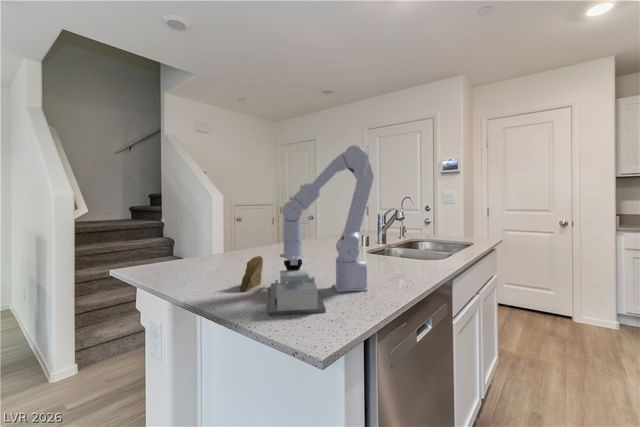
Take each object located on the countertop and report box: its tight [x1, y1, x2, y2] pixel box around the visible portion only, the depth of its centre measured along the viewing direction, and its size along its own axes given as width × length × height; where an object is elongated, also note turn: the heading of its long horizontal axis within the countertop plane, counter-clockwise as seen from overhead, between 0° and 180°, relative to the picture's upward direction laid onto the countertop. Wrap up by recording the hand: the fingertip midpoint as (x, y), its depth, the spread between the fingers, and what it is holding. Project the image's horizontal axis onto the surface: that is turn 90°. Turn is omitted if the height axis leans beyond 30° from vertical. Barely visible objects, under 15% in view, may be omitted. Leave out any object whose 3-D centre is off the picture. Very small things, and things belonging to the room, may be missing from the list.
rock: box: [239, 255, 264, 292], centre depth 99 cm, size 11×9×10 cm
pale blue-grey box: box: [279, 269, 316, 284], centre depth 90 cm, size 10×9×5 cm
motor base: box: [268, 279, 327, 317], centre depth 88 cm, size 14×25×6 cm, turn 8°
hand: (293, 283), depth 96 cm, fingers closed
